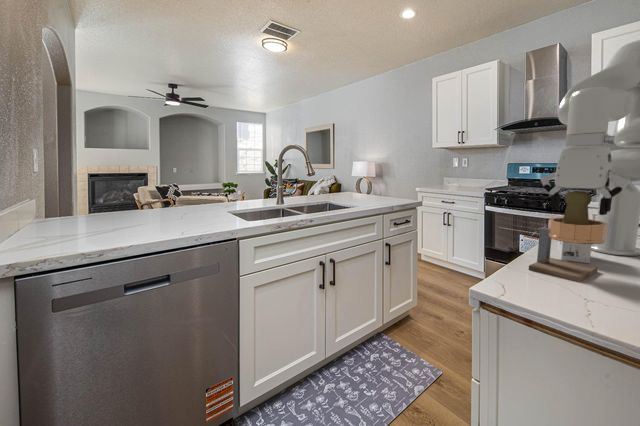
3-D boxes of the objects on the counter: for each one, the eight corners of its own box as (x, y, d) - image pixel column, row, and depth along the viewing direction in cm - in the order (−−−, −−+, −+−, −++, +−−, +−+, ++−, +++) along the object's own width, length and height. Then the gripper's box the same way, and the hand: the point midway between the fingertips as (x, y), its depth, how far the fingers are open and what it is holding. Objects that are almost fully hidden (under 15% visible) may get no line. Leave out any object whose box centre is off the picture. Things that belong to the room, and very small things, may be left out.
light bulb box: (590, 264, 87) (594, 226, 85) (560, 260, 90) (563, 224, 89) (583, 254, 96) (587, 220, 94) (556, 251, 99) (559, 218, 98)
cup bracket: (547, 261, 90) (552, 215, 87) (607, 273, 79) (613, 221, 77) (528, 269, 83) (532, 220, 81) (590, 284, 72) (597, 227, 70)
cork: (595, 237, 75) (600, 192, 74) (567, 237, 77) (571, 192, 75) (580, 232, 81) (584, 190, 80) (554, 231, 82) (558, 190, 81)
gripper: (639, 139, 70) (629, 214, 73) (550, 145, 84) (544, 207, 87) (629, 139, 66) (620, 218, 69) (537, 144, 80) (532, 210, 83)
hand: (578, 212), depth 78 cm, fingers open, 9 cm apart
